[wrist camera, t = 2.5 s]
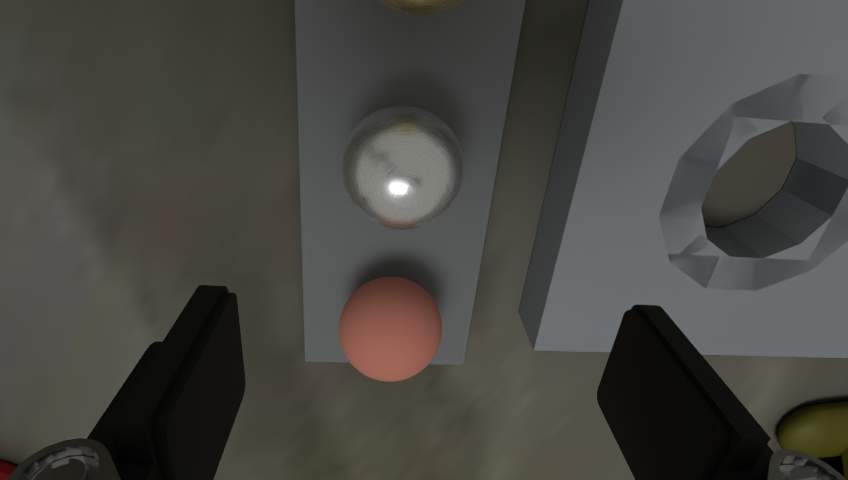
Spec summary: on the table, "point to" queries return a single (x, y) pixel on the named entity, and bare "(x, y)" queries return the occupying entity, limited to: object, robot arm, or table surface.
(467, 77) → the mat
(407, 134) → the steel ball
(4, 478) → the canned food
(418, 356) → the rubber ball
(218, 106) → the table surface
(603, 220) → the board
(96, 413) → the table surface
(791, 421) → the spaceship
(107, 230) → the table surface
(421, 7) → the brass ball
